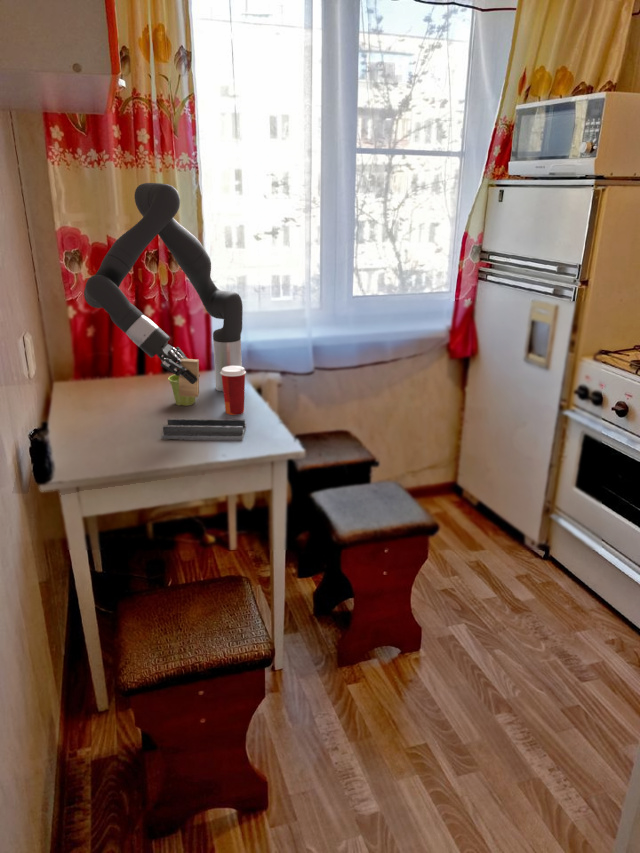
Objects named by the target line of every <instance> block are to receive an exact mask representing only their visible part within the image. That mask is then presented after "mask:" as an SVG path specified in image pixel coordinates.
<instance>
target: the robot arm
mask: <svg viewBox="0 0 640 853" xmlns="http://www.w3.org/2000/svg"><path fill="white" fill-rule="evenodd" d="M134 203H135V206H136V208H137V210H138V212H139V213H140V215H141V216H142V218H140V220H139V221H138V222H137V223H136V224H135V225H134V226H132V227H131V228H129V229H128V230H127V231H125V232H124V233H123V234H121V236H120V237H118V238H117V239H116V240H115V242H113V244H112V246H110V248H109V250H108V251H107V253H105V254H106V255H105V256H104V258H103V260H102V261H101V262H100V263H101V264H100V267H99V269H98V270H97V271H96V273H95V274H93V275H92V276H90V277H89V278H88V279H87V281H86V282H85V286H84V287H85V288H84V290H83V297H84V299H85V302H86V303H87V304H88V305H89V306H90V307H93V308H95V309H103V310H104V311H106V313H107V314H108V315H109V316H110V319H111V321H112V322H113V323H114V325H115V326H117V327H118V328H119V329H120V330H121V331H122V332H123V333H124V334H126V335H127V337H128V338H129V339H130V340H131V341H132V342H133V343H134V344H135V345H136V346H137V347H138V348H140V349H141V350H142V351H143V352H144V354H146V355H147V356H148V357H150V358H154V357H155V356H157V357H158V358H159V360H160V361H161V363H160V366H161V367H162V368H164V369H165V370H167V371H168V372H170V373H172V375H177V376H179V375H180V376H183V377H184V378H186V379H187V380H188V381H189V382H190V383H191V384H194V383H195V382H196V381H197V379H198V378H197V377H196V376H195V375H194V374H193V373H191V372H190V371H189V370H188V369H187V368H186V367H185V366H184V365H183V364H182V360H181V359H189V358H188V357H187V356H186V354H185V353H184V352H183V351H182V350H181V348H180V347H179V346H176V347H174V346H172V345H171V344H169V343H168V342H169V341H170V340H171V336H170V335H169V334H168V333H166V332H165V331H164V330H162V328H160V326H158V325H157V324H156V323H155V322H154V321H153V320H152V319H151V318H149V317H148V316H146V314H144V313H143V312H142V311H141V310H140V309H138V308H137V307H136V306H135V305H134V304H132V302H130V300H129V298H127V296H126V295H125V293H124V292H123V291H122V290H121V289H120V286H121V284H122V282H123V280H124V279H126V277H127V275H129V273H130V271H131V270H132V268H133V267H134V265H135V264H136V262H137V261H138V259H139V258H140V256H141V254H142V253H143V252H144V251H145V249H146V248H147V247H148V246H149V244H151V242H152V241H153V240H154V239H155V238H156V237H157V235H158V236H159V238H160V239H161V240H162V242H163V244H164V245H165V247H166V248H167V250H168V251H169V252H170V253H171V255H172V256H173V258H174V260H175V262H176V263H177V265H178V266H179V267H180V269H181V270H182V272H183V273H184V274H185V276H186V277H187V279H188V281H189V282H190V284H191V285H192V286H193V288H194V290H195V292H196V293H197V295H198V296H199V299H200V301H201V302H202V304H203V307H204V308H205V310H206V312H207V313H208V314H209V316H211V317H212V318H214V319H218V320H223V323H222V327H221V328H218V329H215V330H214V331H213V332H212V343H213V359H214V361H213V362H214V379H215V381H214V383H215V390H217V391H219V392H222V393H224V392H223V383H222V375H221V373H220V372H221V370H222V368H224V367H226V366H241V367H243V364H242V362H243V361H242V340H241V339H242V337H241V336H242V332H243V311H244V310H243V300H242V298H241V295H240V294H239V293H237V292H235V291H228V290H227V291H226V290H220V289H219V288H218V287H217V286H216V284H215V283H214V281H213V280H212V278H211V277H212V276H211V272H212V262H211V257H210V255H209V254H208V253H207V250H206V249H205V248H204V246H203V244H202V243H201V241H200V240H199V239H198V238H197V237H196V236H195V235H194V234H192V232H190V231H189V230H188V229H187V228H185V227H184V226H183V225H181V223H179V222H178V221H177V220H176V219H175V218H174V217H175V216H176V215H177V213H178V211H179V209H180V207H181V197H180V193H179V191H178V190H177V188H175V187H174V186H173V185H170V184H168V183H161V182H160V183H157V182H145V183H141V184H139V185H138V186H137V187H136V189H135V191H134ZM199 378H200V374H199Z"/></svg>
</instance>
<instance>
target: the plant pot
mask: <svg viewBox="0 0 640 853" xmlns="http://www.w3.org/2000/svg"><path fill="white" fill-rule="evenodd" d="M167 378H168V379H167V380H168V381H169V383H170V385H171V389H172V393H173V397H174V402H175V404H176V405H177V406H183V407H187V406H191V405H193V404H194V403H196V397H189V396H179V376H177V375H175V374H172V375H170V376H169V377H167Z"/></svg>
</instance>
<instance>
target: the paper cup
mask: <svg viewBox="0 0 640 853" xmlns="http://www.w3.org/2000/svg"><path fill="white" fill-rule="evenodd" d="M220 373H221V375H222V383H223V392H222V393H223V398H224V399H223V400H224V408H225V413H226V415H229V416H239V415H242V414H244V413H245V394H246V393H245V391H246V389H245V388H246V387H245V385H246V382H245V381H246V374H247V371H246V369H245V367H243V366H242V367H241V366H226V367H224V368H222V370H221V372H220ZM243 412H244V413H243Z"/></svg>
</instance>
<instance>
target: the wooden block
mask: <svg viewBox="0 0 640 853" xmlns="http://www.w3.org/2000/svg"><path fill="white" fill-rule="evenodd" d="M181 360H182V364H183V365H184V366H185V367H186V368H187V369H188V370H189V371H190V372H191V373H193V374H194V375H195V376H196V377H197V378H198V379H197V381H196V382H195V383H194V384H191V383H190V382H189V381H188V380H187V379H186V378H184V377H183V376H180V375H179V396H189V397H195V398H198V397H199V395H200V377H199V375H200V372H199V371H200V368H199V367H200V360H199V359H195V358H194V359H193V358H188V359H181Z"/></svg>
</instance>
